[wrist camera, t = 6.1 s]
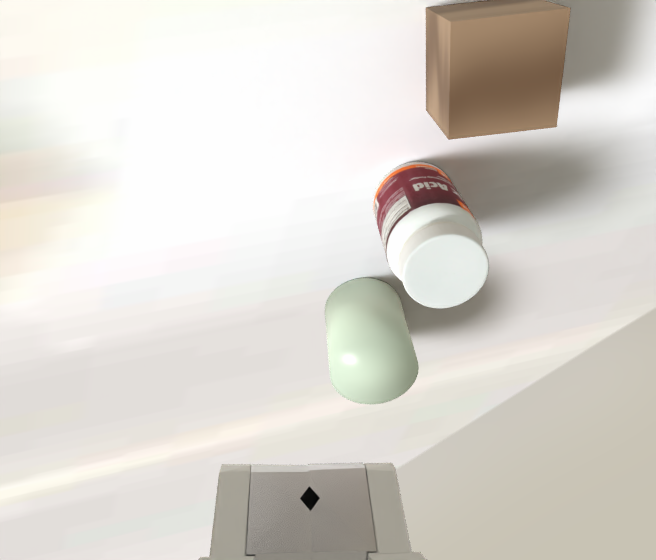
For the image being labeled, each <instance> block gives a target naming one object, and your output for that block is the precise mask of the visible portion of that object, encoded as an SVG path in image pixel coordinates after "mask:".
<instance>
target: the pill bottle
mask: <svg viewBox="0 0 656 560" xmlns="http://www.w3.org/2000/svg"><path fill="white" fill-rule="evenodd" d="M373 210H374V214H375V218H376V222H377V225H378V229H379V232H380V236H381V239H382V243H383V246H384V250H385V253H386V257H387V261H388V264H389V266H390V268H391V270H392V272H393V273H394V274H395V275H396V276H397V277H398V278H399V279H400V280H401V281H402V282H403V285H404V287H405V290H406V291H407V293H408V294H409V295H410V297H411V298H412V299H414V300H415V301H416V302H418V303H420V304H422V305H424V306H427V307H430V308H449V307H453V306H457V305H459V304H462V303H464V302H465V301H467V300H469V299H470V298H471V297H473V296H474V295H475V294H476V293H477V292H478V291H479V290H480V289H481V287H482V286H483V285H484V283H485V281H486V278H487V275H488V271H489V261H488V257H487V254H486V251H485V249H484V248H483V246H482V234H481V230H480V227H479V225H478V223H477V222H476V220H475V218H474V216H473V215H472V213H471V211H470V210H469V209H468V207H467V205H466V204H465V202H464V200H463V199H462V197H461V196H460V194H459V193H458V191H457V189H456V188H455V186H454V185H453V184H452V182H451V180H450V179H449V177H448V176H447V175H446V174H445V173H444V172H443V171H442V170H441V169H440V168H438V167H436V166H434V165H432V164H429V163H424V162H410V163H406V164H403V165H400V166H398V167H396V168H394V169H393V170H391V171H390V172H389V173H388V174H386V175H385V177H384V178H383V179H382V180H381V181H380V183H379V184H378V186H377V188H376V190H375V193H374V197H373Z"/></svg>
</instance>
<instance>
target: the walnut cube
mask: <svg viewBox="0 0 656 560" xmlns="http://www.w3.org/2000/svg"><path fill="white" fill-rule="evenodd" d="M570 10H571V8H569V7H565V6H562V5H558V4H555V3H551V2H548V1H544V0H487V1H478V2H470V3H461V4H452V5H444V6H435V7H426V111H427V112H428V113H429V114H430V116H431V117H432V118H433V120H434V121H435V122H436V124H437V125H438V126H439V128H440V129H441V130H442V131H443V133H444V134H445V135H446V137H447V138H448V139H458V138H467V137H475V136H484V135H492V134H501V133H510V132H518V131H527V130H536V129H544V128H553V127H557V118H558V110H559V102H560V93H561V85H562V77H563V68H564V60H565V51H566V43H567V35H568V26H569V18H570Z"/></svg>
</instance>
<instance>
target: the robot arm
mask: <svg viewBox="0 0 656 560" xmlns="http://www.w3.org/2000/svg"><path fill="white" fill-rule="evenodd" d="M199 560H427V559H426V558H425V557H424V556H423V554H421V552H412V551H411V546H410V541H409V536H408V530H407V526H406V520H405V515H404V510H403V505H402V500H401V494H400V490H399V484H398V479H397V474H396V469H395V467H394V465H393V464H392V463H364V464H363V463H325V464H308V465H263V464H252V466H251V464H222V466H221V469H220V472H219V479H218V487H217V496H216V505H215V513H214V522H213V530H212V539H211V548H210V556H209V557H200V558H199Z"/></svg>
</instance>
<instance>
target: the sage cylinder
mask: <svg viewBox="0 0 656 560" xmlns="http://www.w3.org/2000/svg"><path fill="white" fill-rule="evenodd" d="M325 322H326V333H327V345H328V357H329V369H330V378H331V382H332V385H333V386H334V388H335V389H336V391H337V392H338V393H339V394H340V395H342V396H343V397H344V398H346V399H348V400H350V401H353V402H356V403H361V404H380V403H384V402H388V401H391V400H393V399H396V398H397V397H399V396H401V395H402V394H404V393H405V392H406V391H407V390H408V389H409V388H410V387H411V386H412V385H413V383H414V382H415V380H416V377H417V374H418V361H417V357H416V354H415V350H414V347H413V343H412V340H411V336H410V333H409V329H408V326H407V322H406V319H405V315H404V312H403V308H402V305H401V301H400V298H399V296H398V294H397V292H396V291H395V290H394V289H393V288H392V287H391V286H390V285H389V284H387V283H385V282H383V281H381V280H378V279H373V278H358V279H353V280H350V281H347V282H345V283H343V284H342V285H340V286H339V287H337V288H336V289H335V290H334V291H333V292H332V293H331V295H330V296H329V298H328V300H327V302H326V305H325Z"/></svg>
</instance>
